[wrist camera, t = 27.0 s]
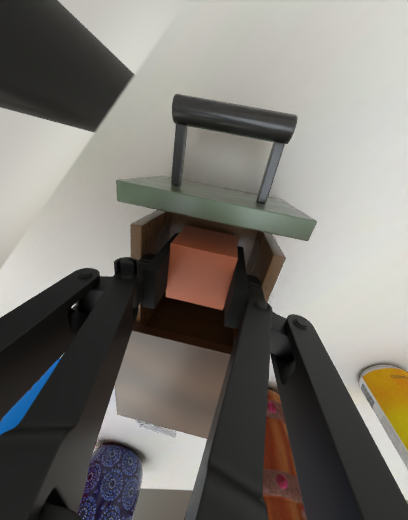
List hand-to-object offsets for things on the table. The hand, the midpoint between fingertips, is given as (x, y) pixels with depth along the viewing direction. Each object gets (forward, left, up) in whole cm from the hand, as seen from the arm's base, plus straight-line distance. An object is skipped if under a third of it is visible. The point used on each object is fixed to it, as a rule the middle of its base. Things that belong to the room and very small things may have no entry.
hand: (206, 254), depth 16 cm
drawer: (-1, 0, -4) cm, 4 cm away
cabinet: (+13, 0, -5) cm, 14 cm away
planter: (+69, -13, -5) cm, 70 cm away
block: (0, 0, 0) cm, 0 cm away
